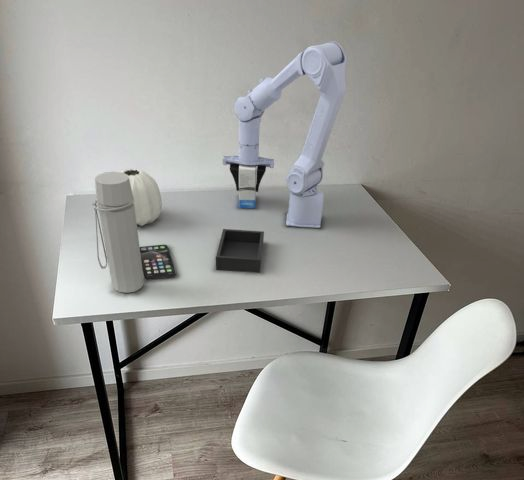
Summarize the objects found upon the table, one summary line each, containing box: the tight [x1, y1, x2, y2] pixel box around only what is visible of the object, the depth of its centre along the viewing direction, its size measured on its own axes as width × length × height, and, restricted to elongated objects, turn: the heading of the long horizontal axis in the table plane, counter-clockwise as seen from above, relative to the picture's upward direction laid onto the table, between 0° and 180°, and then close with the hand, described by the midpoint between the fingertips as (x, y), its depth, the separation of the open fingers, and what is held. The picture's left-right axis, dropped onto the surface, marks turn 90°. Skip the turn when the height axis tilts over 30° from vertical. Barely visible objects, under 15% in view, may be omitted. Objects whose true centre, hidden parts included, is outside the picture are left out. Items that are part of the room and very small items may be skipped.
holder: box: [215, 228, 265, 274], centre depth 128 cm, size 11×15×4 cm
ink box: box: [238, 164, 257, 209], centre depth 150 cm, size 9×5×12 cm, turn 179°
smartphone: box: [140, 244, 177, 280], centre depth 125 cm, size 7×1×15 cm
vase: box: [120, 168, 163, 227], centre depth 138 cm, size 14×14×13 cm
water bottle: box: [91, 171, 145, 294], centre depth 109 cm, size 9×8×25 cm
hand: (247, 190), depth 152 cm, fingers closed on ink box, 5 cm apart
